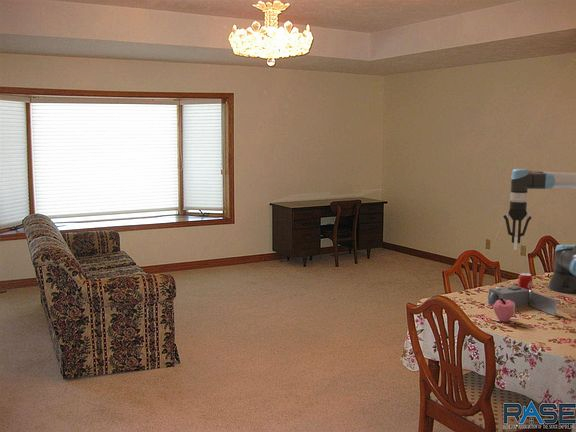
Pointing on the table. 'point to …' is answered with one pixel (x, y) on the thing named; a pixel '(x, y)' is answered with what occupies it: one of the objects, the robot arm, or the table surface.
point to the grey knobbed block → (509, 295)
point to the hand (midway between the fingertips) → (515, 249)
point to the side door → (542, 302)
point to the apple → (504, 309)
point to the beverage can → (525, 281)
